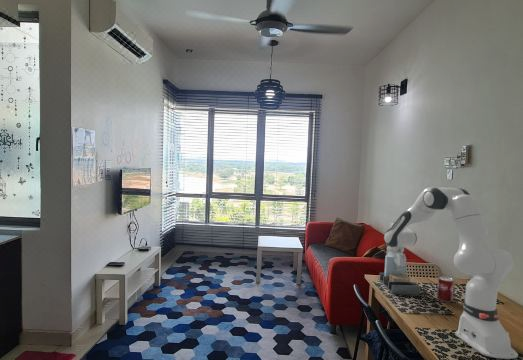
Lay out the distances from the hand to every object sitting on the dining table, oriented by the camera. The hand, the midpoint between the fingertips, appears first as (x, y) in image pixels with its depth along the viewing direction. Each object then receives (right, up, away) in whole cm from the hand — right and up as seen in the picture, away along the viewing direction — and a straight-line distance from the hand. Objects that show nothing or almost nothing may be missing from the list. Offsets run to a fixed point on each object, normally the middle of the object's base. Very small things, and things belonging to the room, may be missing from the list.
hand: (395, 268), depth 191 cm
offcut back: (0, -8, -5) cm, 10 cm away
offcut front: (0, -9, -8) cm, 12 cm away
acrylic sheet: (0, -8, +1) cm, 8 cm away
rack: (0, -9, -5) cm, 11 cm away
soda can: (+18, -11, -21) cm, 30 cm away
